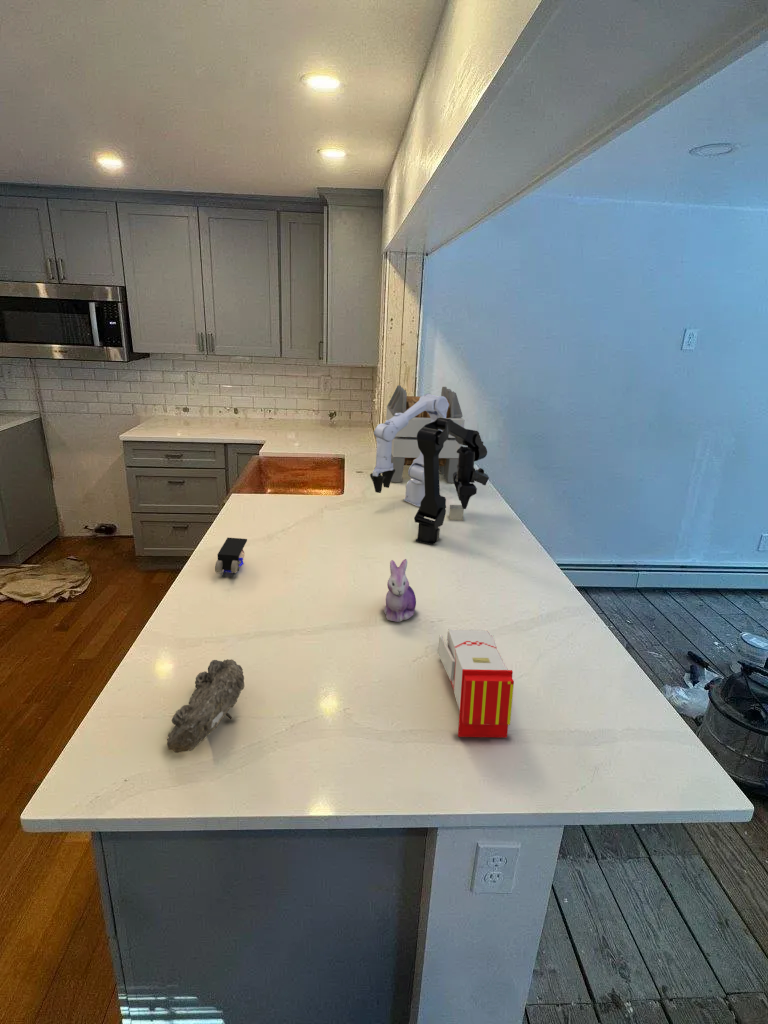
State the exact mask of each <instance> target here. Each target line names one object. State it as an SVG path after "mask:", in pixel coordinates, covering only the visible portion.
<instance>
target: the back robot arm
mask: <svg viewBox="0 0 768 1024" xmlns="http://www.w3.org/2000/svg"><path fill="white" fill-rule="evenodd" d="M419 397H420V399H419V401H418V402H416V403H415V404H414V405H413V406H412V407H410V408H409V409H408V410H407V411H405V412H404V413H396V414H394V415H395V416H394V417H392V418H391V419H389V420H387V421H386V420H385V421H384V422H383V423H382V422H381V423H379V424H377V425H376V426H375V428H374V430H373V435H374V437H375V441H376V449H375V453H376V454H375V467H374V469H373V470H372V473H370V475H369V477H370V479H371V481H372V483H373V487H374V492H375V493H377V494H381V493H382V491H383V488H387V489H389V488H390V487H391V483H392V482H391V479H392V476H393V474H394V473H395V469H393V463H391V451H392V440H393V439H394V438H395V435H396V434H397V432H399V431H400V430H401V429H403V428H404V427H406V426H407V425H408V421H409V420H410V419H412V418H414V417H415V416H417V415H418V414H420V413H422V412H423V411H426V412H427V413H428V414H429V415H430V417H431V422H434V421H435V420H436V419H437V418H440V417H441V418H446V413H447V410H448V407H449V403H448V401H447V399H446V398H445V397H444V396H441V395H436V394H432V393H430V392H426V393H424V394H423V395H421V396H419ZM431 422H430V423H431ZM438 430H439V429H438ZM441 431H442V430H441ZM422 465H424V457H423V454H422V453H421V452H420V455H419V457H418V458H416V459H415V460H414V461H413V463H412V465H411V466H409V467H408V472H407V473H408V477H409V478H410V479H408V481H407V482H406V484H405V495H404V498H403V501H404V502H406V503H409V504H410V505H413V506H416V507H419V508H420V505H421V501H422V499H423V498H424V496H425V483H424V466H422Z"/></svg>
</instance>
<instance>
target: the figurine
mask: <svg viewBox="0 0 768 1024" xmlns="http://www.w3.org/2000/svg"><path fill="white" fill-rule="evenodd" d="M407 567H408V559H406V558H404V559H403V560H402V561H401V563H400V565H399V566H398V565H397V563H396V562H395V561H394V560H393V559H391V560H390V561H389V570H390V576H389V578H388V579H387V589H388V591H387V592H386V594H385V595H386V596H385V607H384V615H385V616H386V620H387V621H391V622H395V623H400V622H402V621H406V620H409V619H410V618H411V617H413V616H414V615H415V610H416V606H417V597H416V593H415V591H414V590H413V587H411V586H410V582H409V579H408V577H407V574H406V571H407Z"/></svg>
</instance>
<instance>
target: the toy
mask: <svg viewBox="0 0 768 1024" xmlns="http://www.w3.org/2000/svg"><path fill="white" fill-rule="evenodd" d="M446 640H447V643H446V641H445V639H444V636H443V635H442V634H439V637H438V646H437V656H438V657H439V659H440V661H441V663H442V666H443V668H444V670H445V672H446V674H447V677H448V679H449V681H450V684H451V687H452V690H453V693H454V697H455V701H456V705H457V708H458V711H459V714H458V715H459V716H458V730H457V731H458V732H457V737H458V738H508V731H509V726H510V725H511V717H512V707H513V697H514V696H513V695H514V684H515V680H514V679H513V673H514V671H513V670H512V669H508V667H507V665H506V662H505V661H504V659H503V658H502V655H501V653H500V651H499V649H498V647H497V643H496V639H495V637H494V635H493V634H491V632H490V631H489V629H467V628H466V629H465V628H463V629H461V628H460V629H459V628H448V630H447V639H446Z"/></svg>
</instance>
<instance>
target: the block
mask: <svg viewBox="0 0 768 1024" xmlns="http://www.w3.org/2000/svg"><path fill="white" fill-rule="evenodd" d="M448 511H449V512H448V517H449V520H450V521H462V522H463V521H464V512H465V509H463V508H462V505H461V504H450V505H449V510H448Z"/></svg>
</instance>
